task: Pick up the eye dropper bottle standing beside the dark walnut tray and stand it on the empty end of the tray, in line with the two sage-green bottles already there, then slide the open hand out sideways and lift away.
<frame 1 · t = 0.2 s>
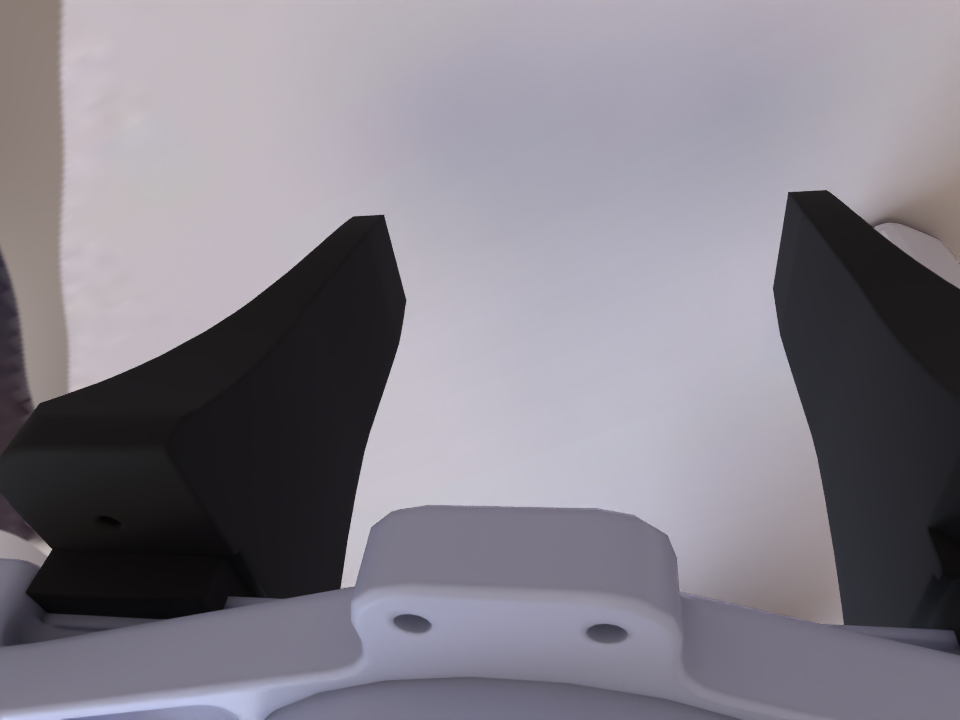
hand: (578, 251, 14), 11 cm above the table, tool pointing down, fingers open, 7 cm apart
eye dropper bottle: (857, 292, 25), on the table
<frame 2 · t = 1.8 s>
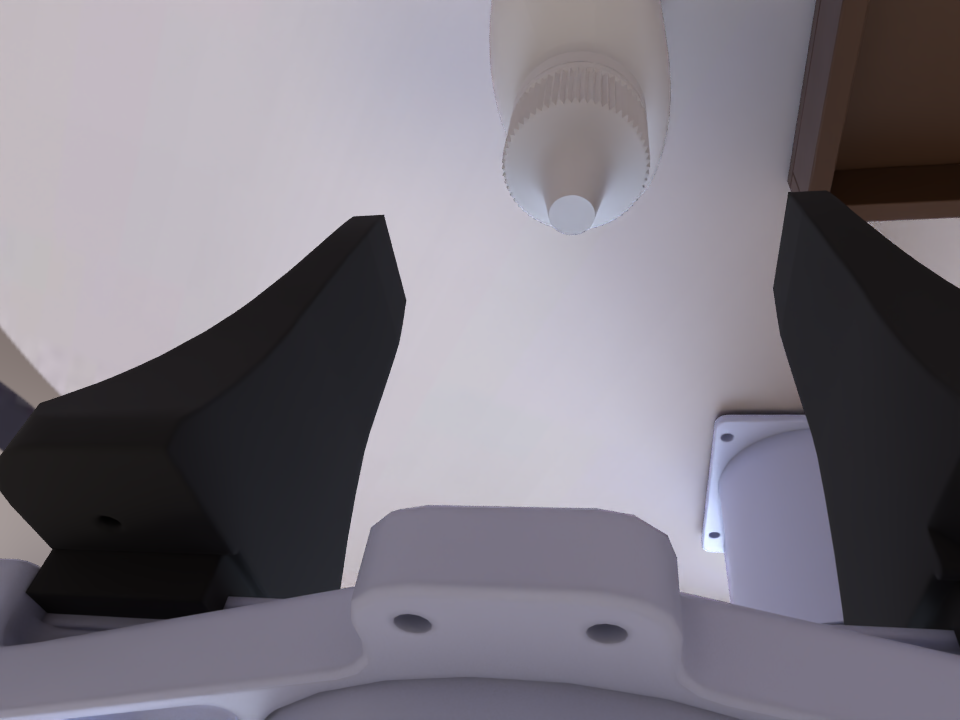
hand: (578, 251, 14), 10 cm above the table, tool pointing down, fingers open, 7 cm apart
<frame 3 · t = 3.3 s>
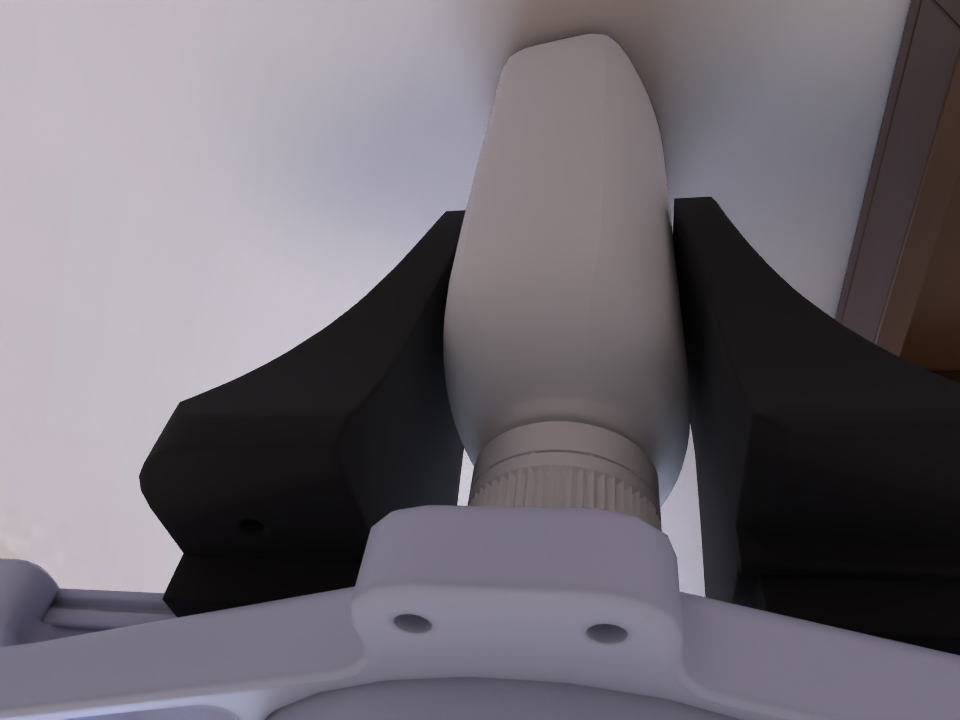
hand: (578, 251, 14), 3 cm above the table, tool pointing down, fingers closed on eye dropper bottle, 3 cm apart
eye dropper bottle: (582, 156, 16), on the table, touching gripper
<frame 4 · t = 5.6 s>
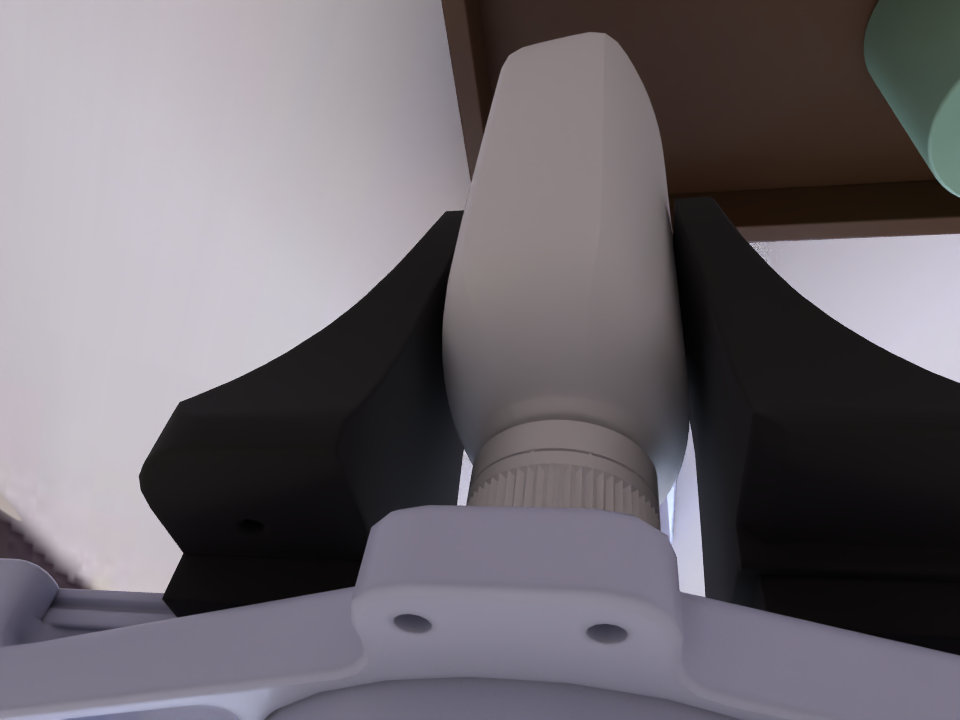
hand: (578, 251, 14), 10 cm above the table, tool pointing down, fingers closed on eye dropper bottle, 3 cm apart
green bottle middle: (948, 24, 19), resting on tray
tray: (942, 17, 19), on the table
eye dropper bottle: (581, 155, 16), point 7 cm above the table, touching gripper
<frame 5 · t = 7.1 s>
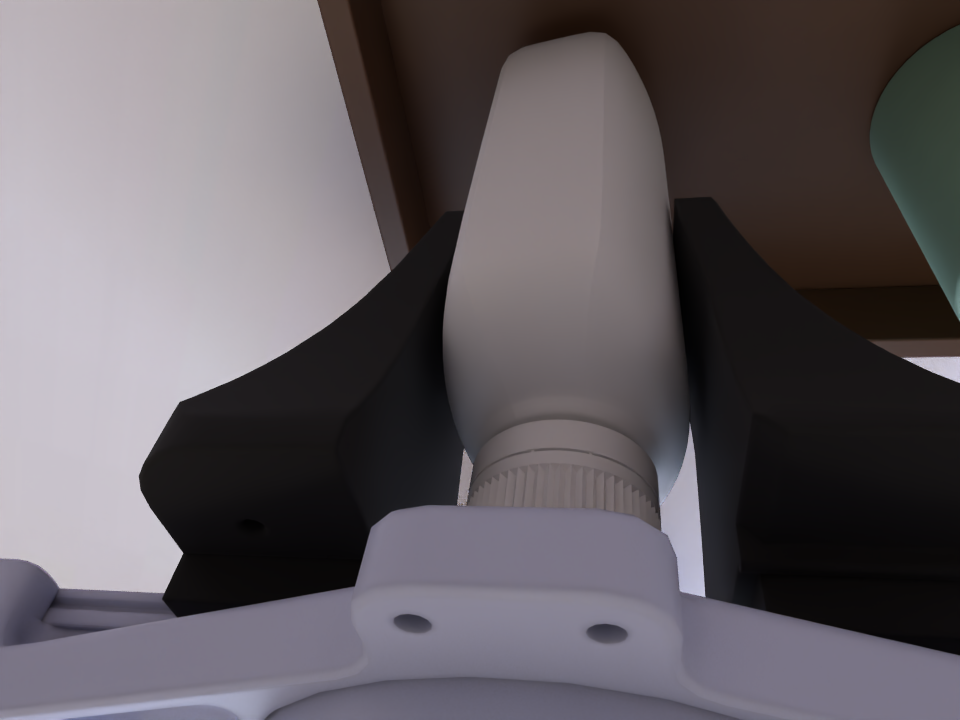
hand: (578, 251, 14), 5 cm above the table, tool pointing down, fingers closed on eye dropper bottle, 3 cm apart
eye dropper bottle: (581, 155, 16), point 1 cm above the table, touching gripper
when the fingers open (4 cm above the table, at t = 7.8 s): eye dropper bottle stays where it is, resting on tray.
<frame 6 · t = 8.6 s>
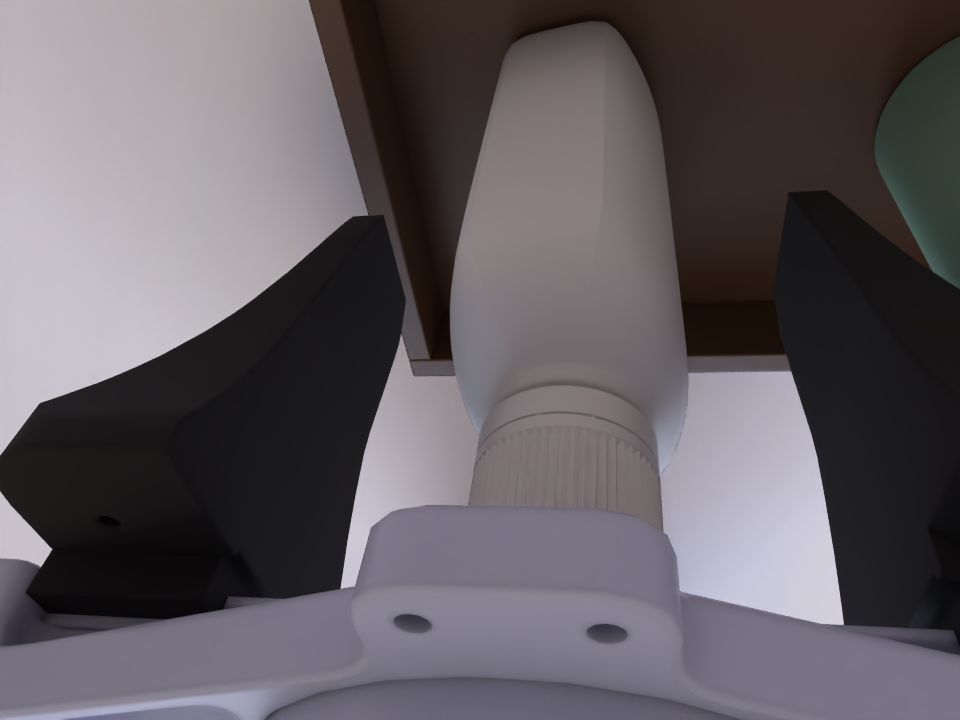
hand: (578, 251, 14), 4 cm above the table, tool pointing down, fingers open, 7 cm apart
eye dropper bottle: (582, 143, 17), resting on tray
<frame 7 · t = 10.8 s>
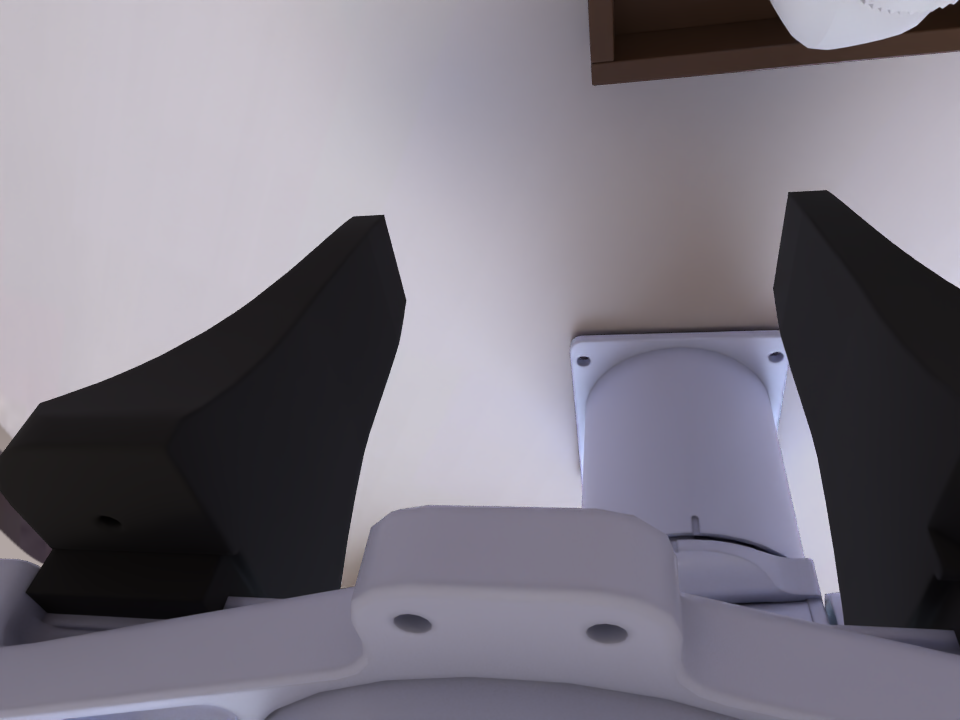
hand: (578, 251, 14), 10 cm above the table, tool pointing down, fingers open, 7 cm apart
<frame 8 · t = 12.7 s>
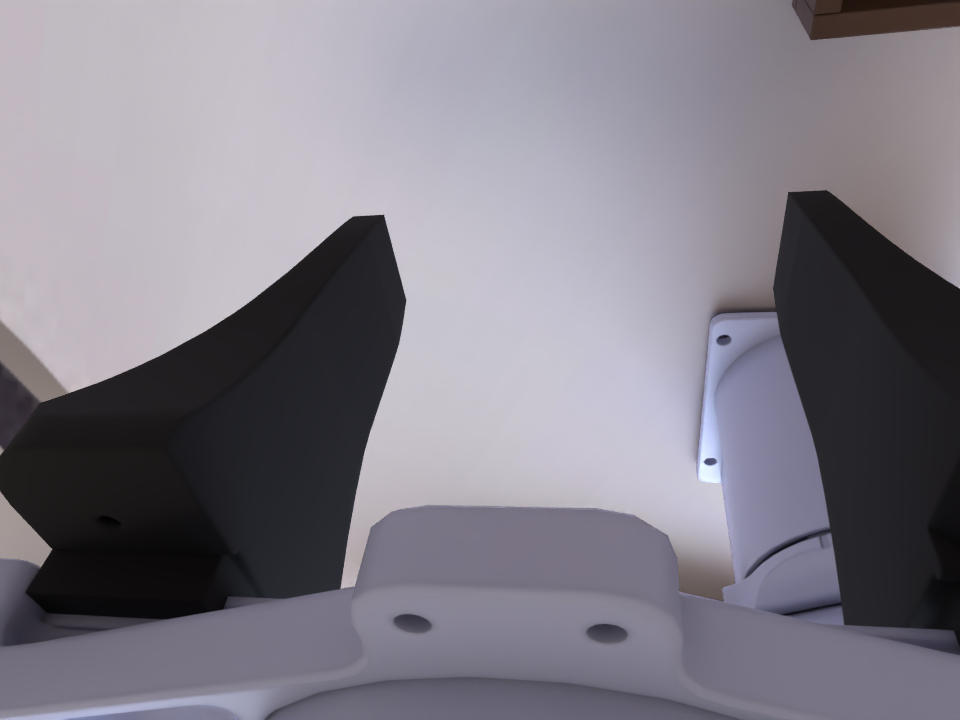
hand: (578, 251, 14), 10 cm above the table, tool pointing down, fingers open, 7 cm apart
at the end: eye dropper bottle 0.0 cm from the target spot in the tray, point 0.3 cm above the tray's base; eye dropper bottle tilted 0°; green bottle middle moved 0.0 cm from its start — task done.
